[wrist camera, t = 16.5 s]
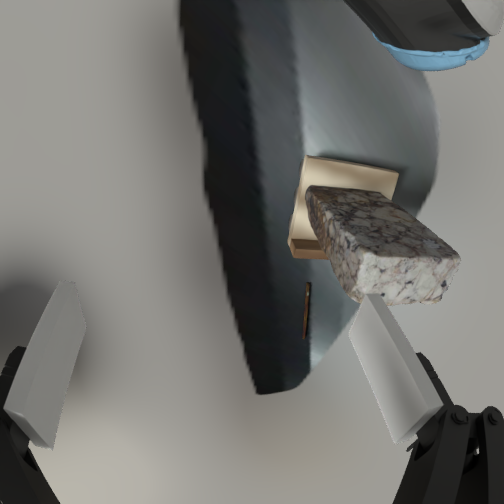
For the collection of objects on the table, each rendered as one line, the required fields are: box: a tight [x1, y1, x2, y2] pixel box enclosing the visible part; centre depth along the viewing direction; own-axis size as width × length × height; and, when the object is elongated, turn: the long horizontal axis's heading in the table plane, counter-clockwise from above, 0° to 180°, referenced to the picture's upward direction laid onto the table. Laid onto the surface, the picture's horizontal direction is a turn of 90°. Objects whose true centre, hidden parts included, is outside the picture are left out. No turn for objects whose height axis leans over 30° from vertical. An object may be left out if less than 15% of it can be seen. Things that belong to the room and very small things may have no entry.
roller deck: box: [288, 155, 399, 260], centre depth 47 cm, size 14×15×8 cm
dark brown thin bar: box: [302, 282, 310, 339], centre depth 62 cm, size 15×1×1 cm, turn 3°
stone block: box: [305, 185, 461, 306], centre depth 37 cm, size 13×7×20 cm, turn 89°
